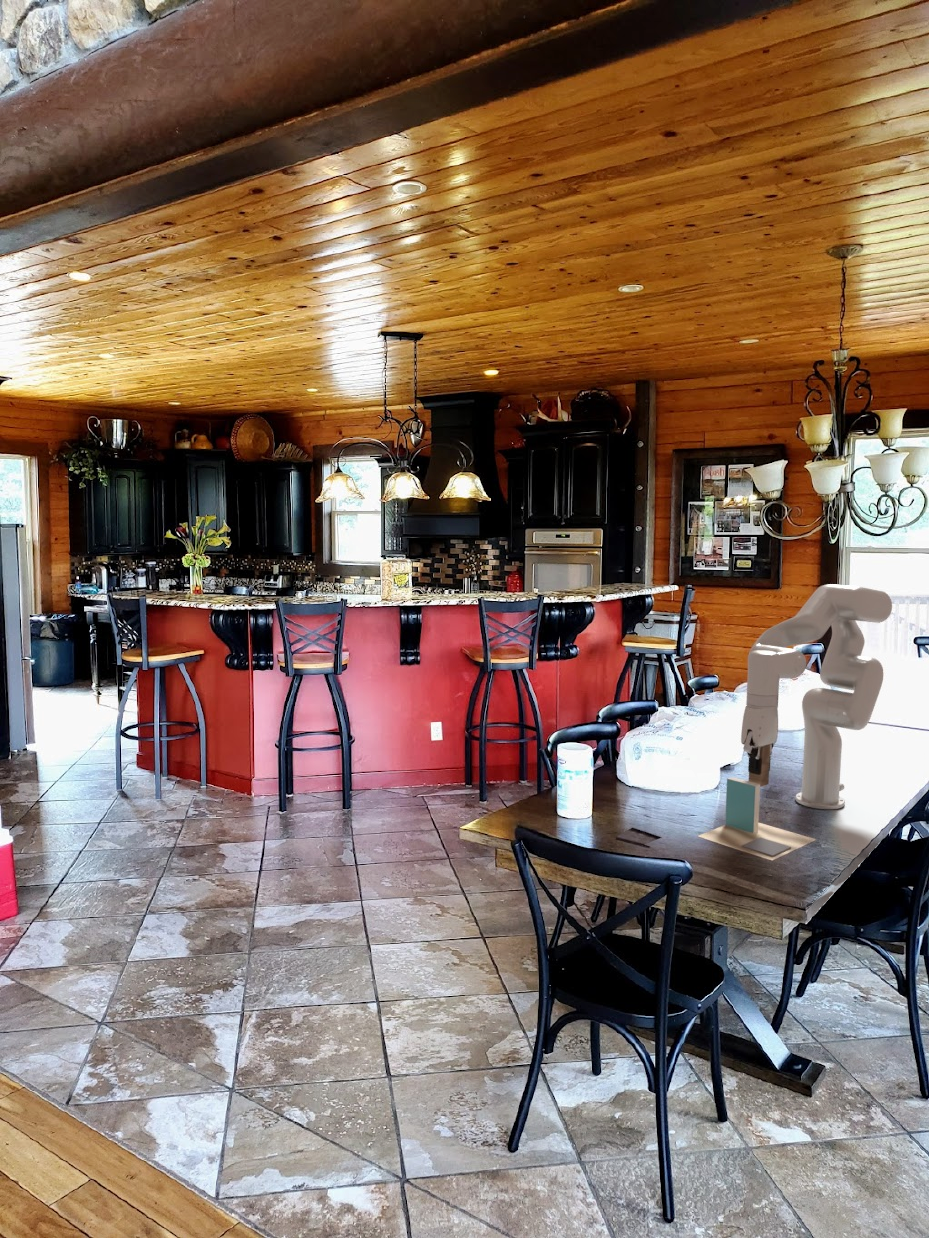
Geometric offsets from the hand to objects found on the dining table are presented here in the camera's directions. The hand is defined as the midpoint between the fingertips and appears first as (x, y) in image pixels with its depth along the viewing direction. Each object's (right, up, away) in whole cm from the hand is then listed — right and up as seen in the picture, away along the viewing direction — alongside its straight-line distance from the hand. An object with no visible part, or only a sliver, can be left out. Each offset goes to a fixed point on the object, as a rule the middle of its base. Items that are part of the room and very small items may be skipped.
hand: (759, 771), depth 229 cm
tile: (-5, -14, -3) cm, 15 cm away
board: (-4, -16, -9) cm, 19 cm away
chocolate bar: (-28, -15, -3) cm, 32 cm away
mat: (-3, -15, -16) cm, 22 cm away
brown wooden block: (0, -3, 0) cm, 3 cm away
